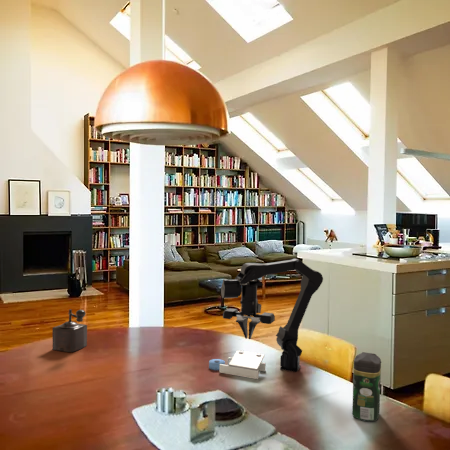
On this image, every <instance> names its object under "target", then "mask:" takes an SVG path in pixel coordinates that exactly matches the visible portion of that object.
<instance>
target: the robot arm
mask: <svg viewBox="0 0 450 450" xmlns="http://www.w3.org/2000/svg"><path fill="white" fill-rule="evenodd" d="M292 271H295V272H296V273H297V274H299V275H300V276H301V280H300V291H299V294H298V296H297V299H296V300H295V304H294V306H293V309H292V310H291V313H290V316H289V318H288V320H287V323H286V325H285V326H283V327H282V326H279V328H278V331H277V334H276V335H275V336H276V343H277V345H278V346H279V347H280V348H281V350H282V352H281V355H280V364H279V365H280V367H279V368H280V370H282V371H288V372H293V373H294V372H295V373H297V372H298V371H299V370H300V369H301V368H302V366H301V365H300V364H301V363H300V362H301V361H300V357H301V355H302V353H303V349H302V348H301V347H300V346H298V339H299V328H300V326H301V323H302V321H303V318H304V317H305V314H306V312H307V309H308V307H309V304H310V302H311V299H312V297H313V295H314V294H315V293H316V292H317V291H318V290H319V289H320V287H321V285H322V284H323V281H324V277H323V275H322V273H321V272H319V271H318V270H314V269H312V268H311V267H309V266H308V265H307V264H305V263H304V262H303V261H302V260H301V259H299V258H292V259H287V260H281V261H275V262H267V263H257V262H246V263H243V264H242V265H241V267H240V271H239V273H238V274H237V275H236V277H235V278H234V279H227V278H226V279H225V278H223V279H222V283H221V287H220V295H221V298H222V299H235V298H239V297H240V296H241V299H240V301H239V302H240V303H239V304H240V308H241V309H240V312H239V310H238V308H231V307H230V308H227V309H225V310H224V311H223V314H222V319H225V320H231V319H232V318H234V317H235V318H236V320H235V322H236V323H238V326H239V327H240V328H241V331H242V333H243V336H244V338H245V339H248V340H251V339H252V337H253V334H254V331H255V329H256V326H257V325H259V324H260V323H261V324H265V325H271V324H272V323H273V322H275V320H276V316H275V314H274V313H273V312H263V313H262V314H261V312H262V304H261V303H259V300H258V286H259V287H260V286H261V287H262V286H264V285H263V283H262V282H261V281H260V279H261V278H264V277H265V276H268V275H273V274H279V273H286V272H292ZM249 319H250V322H249Z"/></svg>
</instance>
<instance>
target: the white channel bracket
mask: <svg viewBox="0 0 450 450" xmlns="http://www.w3.org/2000/svg"><path fill="white" fill-rule="evenodd" d="M232 358H233V357H230V356H229V357H228V358H227V364H225V365H224V364H220V366H219V370H218V371H219V374H226V375H231V376H232V375H233V376H238V377H245V378H248V379H249V378H250V379H253V380H254V379H255V380H259V372H260V371H261V372H265V371H266V367H267V366H266V362H264V361H263V362H261V364H260V366H259V368H258V369H251V368H245V367H239V366H233V365H229V363H230V361H231V360H232Z"/></svg>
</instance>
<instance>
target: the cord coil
mask: <svg viewBox="0 0 450 450" xmlns="http://www.w3.org/2000/svg"><path fill="white" fill-rule="evenodd" d="M220 364H224V365H226V362H225V360H223V359H220V358H211V359H210V360H209V361H208V369H210V370H212V371H219V366H220Z"/></svg>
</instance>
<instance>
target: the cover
mask: <svg viewBox="0 0 450 450" xmlns="http://www.w3.org/2000/svg"><path fill="white" fill-rule="evenodd" d="M231 358H232V360H231V361H230V363H229V365H233V366H239V367H245V368H251V369H258V368H259V366H260V364H261V362H262V361H263V360H264V358H265V353H264V354H263V353H258V352H251V351H244V350H239V349H237V350H236V352H235V353H234V355H233V356H232V357H231Z"/></svg>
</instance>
